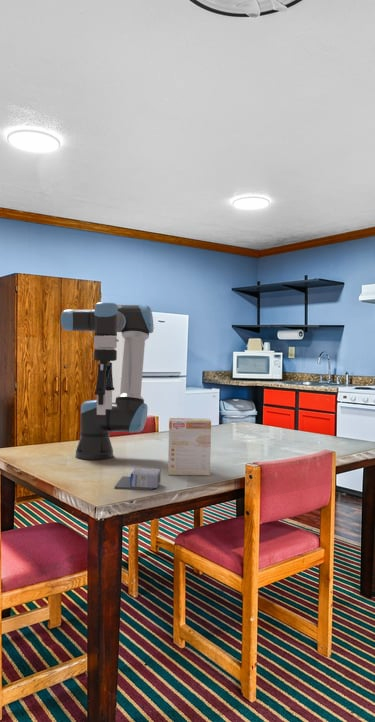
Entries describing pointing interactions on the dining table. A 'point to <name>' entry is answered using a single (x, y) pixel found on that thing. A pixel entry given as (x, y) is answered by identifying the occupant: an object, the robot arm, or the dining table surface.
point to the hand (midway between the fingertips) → (104, 411)
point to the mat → (128, 484)
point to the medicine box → (145, 478)
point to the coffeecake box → (189, 446)
